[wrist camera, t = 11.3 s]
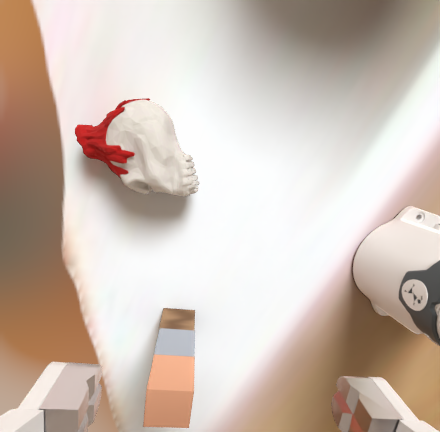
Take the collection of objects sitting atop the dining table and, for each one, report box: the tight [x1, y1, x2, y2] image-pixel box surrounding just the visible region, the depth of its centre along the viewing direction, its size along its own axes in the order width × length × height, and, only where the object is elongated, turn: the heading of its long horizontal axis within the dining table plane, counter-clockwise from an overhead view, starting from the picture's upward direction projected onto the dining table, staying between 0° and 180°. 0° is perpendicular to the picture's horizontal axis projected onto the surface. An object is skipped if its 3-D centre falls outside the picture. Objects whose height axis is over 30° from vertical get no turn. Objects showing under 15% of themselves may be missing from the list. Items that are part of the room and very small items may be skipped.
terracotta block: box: [143, 354, 195, 428], centre depth 31 cm, size 5×5×5 cm
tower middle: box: [154, 328, 195, 357], centre depth 36 cm, size 5×5×5 cm
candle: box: [75, 99, 199, 196], centre depth 33 cm, size 9×11×15 cm
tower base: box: [159, 308, 195, 330], centre depth 41 cm, size 5×5×5 cm
